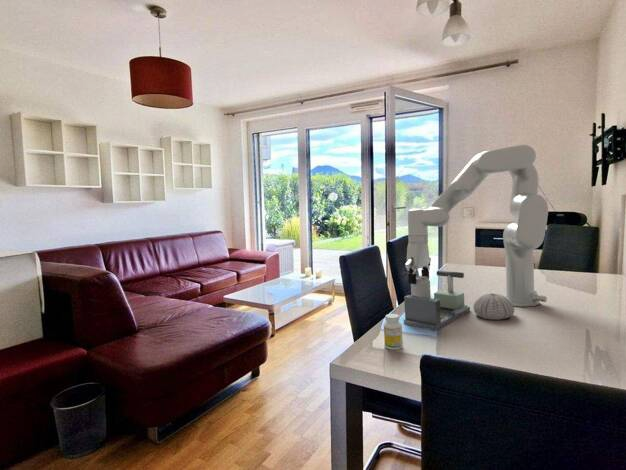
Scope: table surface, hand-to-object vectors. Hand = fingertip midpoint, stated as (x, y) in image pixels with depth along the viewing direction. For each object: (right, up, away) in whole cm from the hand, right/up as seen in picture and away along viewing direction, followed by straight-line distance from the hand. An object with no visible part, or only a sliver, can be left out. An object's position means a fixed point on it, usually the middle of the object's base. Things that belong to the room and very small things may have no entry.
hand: (419, 281), depth 149 cm
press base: (+3, -11, -14) cm, 18 cm away
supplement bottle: (-18, -15, -38) cm, 45 cm away
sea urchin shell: (+22, -10, -17) cm, 30 cm away
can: (+1, -10, 0) cm, 10 cm away
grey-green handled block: (+9, -8, -8) cm, 15 cm away
